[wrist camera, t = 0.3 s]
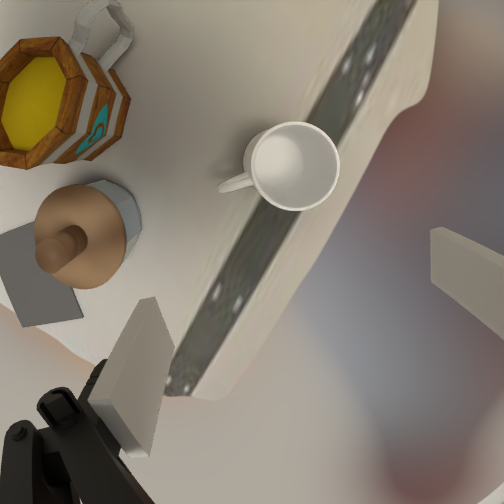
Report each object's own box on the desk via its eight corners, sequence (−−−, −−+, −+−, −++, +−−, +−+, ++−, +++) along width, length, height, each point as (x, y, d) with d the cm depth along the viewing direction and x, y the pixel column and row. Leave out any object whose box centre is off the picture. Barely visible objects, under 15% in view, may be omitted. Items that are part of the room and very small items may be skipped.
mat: (-11, 239, 39) (-12, 240, 38) (47, 216, 38) (46, 217, 38) (23, 326, 44) (22, 327, 43) (83, 316, 43) (82, 317, 43)
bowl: (63, 194, 38) (32, 204, 30) (130, 171, 38) (107, 177, 30) (85, 265, 41) (60, 287, 33) (151, 249, 41) (134, 271, 33)
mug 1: (94, 181, 38) (32, 200, 23) (30, 133, 35) (-40, 134, 20) (181, 55, 34) (156, 8, 19) (107, 15, 31) (60, -32, 16)
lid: (28, 201, 30) (-9, 214, 23) (110, 170, 30) (80, 177, 23) (58, 292, 34) (29, 320, 27) (140, 274, 34) (120, 304, 27)
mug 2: (227, 210, 40) (226, 234, 29) (209, 144, 37) (199, 141, 26) (318, 186, 40) (351, 201, 28) (302, 121, 37) (330, 110, 26)
